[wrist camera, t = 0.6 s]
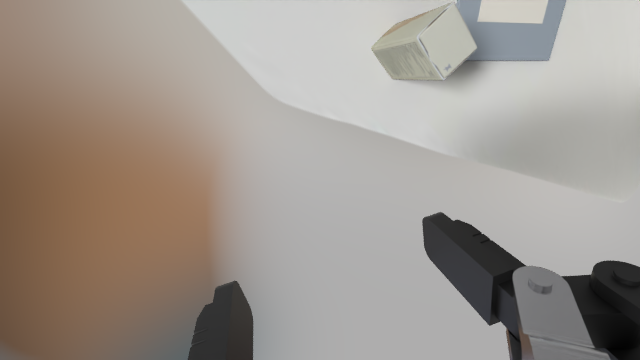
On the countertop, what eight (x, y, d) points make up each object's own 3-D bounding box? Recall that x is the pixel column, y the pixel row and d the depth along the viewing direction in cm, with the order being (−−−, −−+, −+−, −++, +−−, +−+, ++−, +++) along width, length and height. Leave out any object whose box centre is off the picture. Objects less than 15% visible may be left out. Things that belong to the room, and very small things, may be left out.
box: (416, 56, 35) (480, 50, 25) (391, 80, 35) (444, 84, 25) (394, 21, 33) (455, -1, 23) (368, 46, 33) (416, 36, 23)
